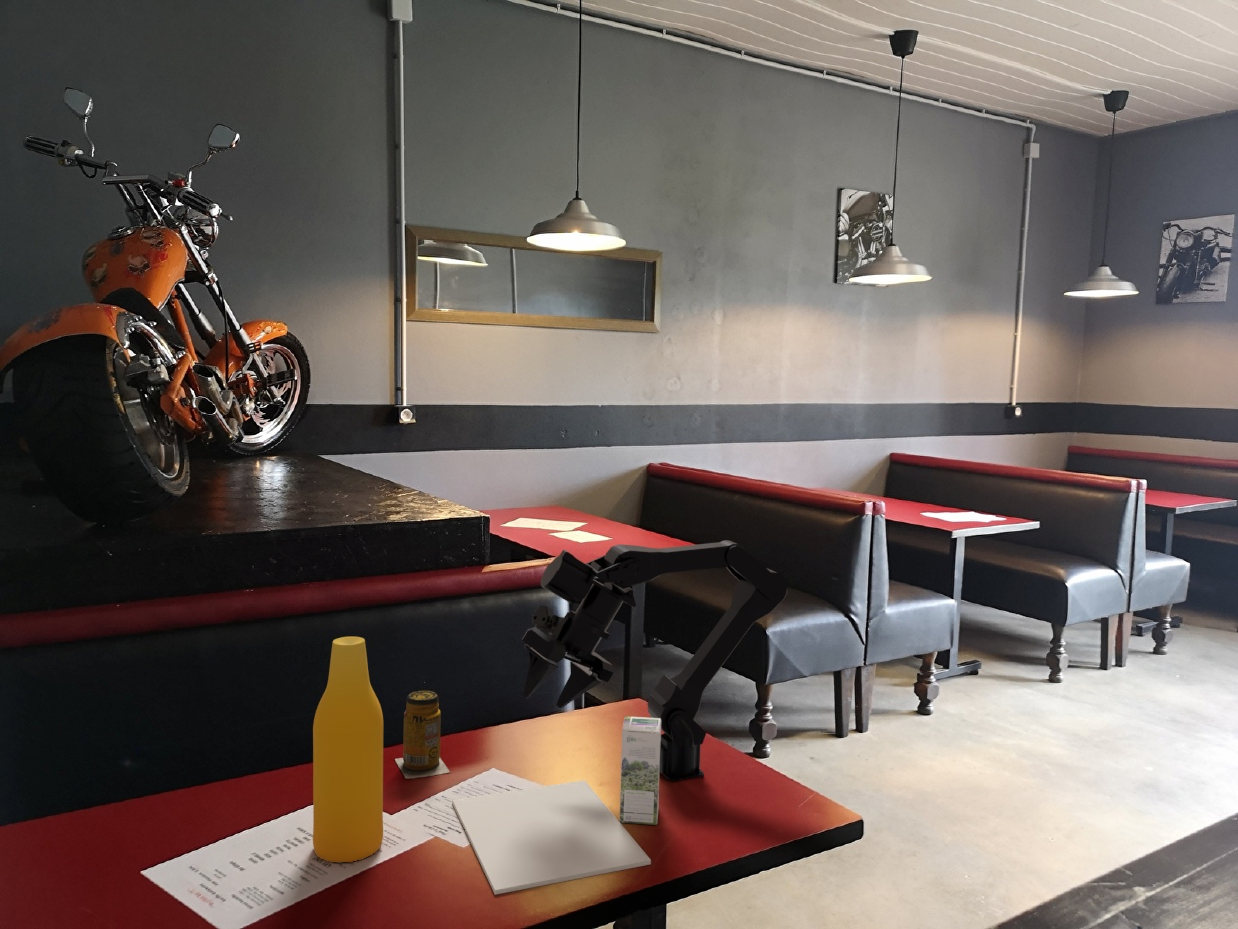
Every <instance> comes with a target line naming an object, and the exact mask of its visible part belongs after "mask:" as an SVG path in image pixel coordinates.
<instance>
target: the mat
mask: <svg viewBox="0 0 1238 929" xmlns="http://www.w3.org/2000/svg"><path fill="white" fill-rule="evenodd" d="M451 802H452V806H453V808H454V811H455V814H457V817H458V819H459V822H460V823H461V825H463V826H462V827H464V828H463V829H465V830H464V831H465V834H466V836H467V835H468V836H467V838H468V841H469V842H471V843H470V844H471V848H472V849H473V851H474V853H475V855H476V858H477V859H478V863H480V865H481V869H482V871H483V872H484V874H485V877H486V879H487V880H488V884H489V885H490V887H491V889H492V891H493V893H494V895H501V894H505V893H510V892H517V891H520V890H526V889H531V888H536V887H537V888H538V887H541V886H547V885H552V884H556V883H561V882H567V881H573V880H577V879H582V878H588V877H592V876H596V875H597V876H598V875H599V876H600V875H603V874H609V873H613V872H614V873H615V872H619V871H622V870H629V869H633V868H638V867H643V866H644V867H645V866H648V865H649V866H651V865H652V860H651V858H650V857H649V855H648V854H646V852H645V851H644V850H643V849H642V848H641V846H640V845H639V844H638V843H637V842H636V840H635V839H634V838H633V836H632V835H631V834H630V833H629V832H628V830H626V828H625V827H624V826H623V824H622V823H621V822H620V820H619V819H618V818H617V817H616V816H615V815H614V814H613V812H612V811H611V810H610V809H609V807H608V806H607V805H606V804H605V803H604V801H602V799H601V798H600V797H599V795H598V794H597V792H595V791H594V790H593V788H592V787H591V786H590V785H589V783H588V782H587V781H586V780H585V779H583V780H578V781H576V780H575V781H569V782H563V783H557V784H550V785H543V786H537V787H530V788H529V787H528V788H523V789H515V790H511V791H509V790H508V791H503V792H498V793H496V792H495V793H489V794H484V795H478V796H477V795H476V796H470V797H469V796H468V797H465V798H457V799H452V801H451Z"/></svg>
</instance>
